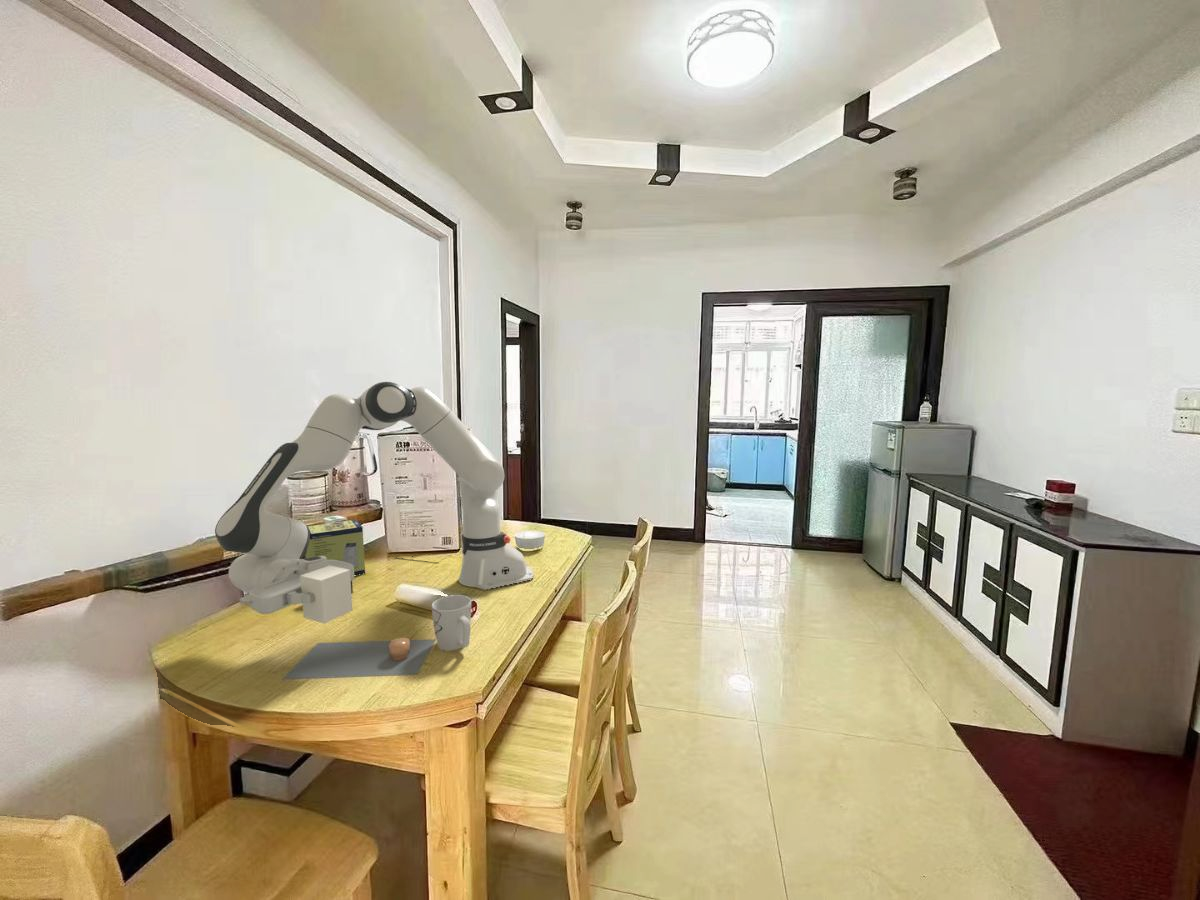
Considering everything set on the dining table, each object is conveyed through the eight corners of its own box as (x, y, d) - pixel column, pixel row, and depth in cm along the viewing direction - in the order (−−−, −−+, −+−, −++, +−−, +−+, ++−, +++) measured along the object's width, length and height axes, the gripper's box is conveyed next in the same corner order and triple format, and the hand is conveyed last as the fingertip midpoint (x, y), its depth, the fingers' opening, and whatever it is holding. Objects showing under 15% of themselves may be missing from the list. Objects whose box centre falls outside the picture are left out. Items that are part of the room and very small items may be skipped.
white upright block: (332, 605, 105) (329, 565, 104) (352, 610, 102) (349, 569, 101) (303, 617, 99) (300, 575, 98) (324, 623, 96) (321, 580, 95)
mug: (486, 650, 106) (485, 607, 105) (450, 665, 100) (449, 619, 99) (460, 632, 114) (459, 591, 113) (426, 644, 108) (425, 602, 107)
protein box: (304, 575, 150) (301, 526, 148) (359, 564, 159) (357, 519, 157) (308, 585, 142) (305, 534, 140) (366, 574, 151) (363, 526, 149)
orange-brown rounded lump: (410, 650, 105) (409, 636, 105) (409, 659, 101) (409, 645, 101) (390, 653, 104) (389, 639, 103) (389, 663, 100) (388, 648, 100)
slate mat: (436, 640, 110) (435, 639, 110) (417, 676, 96) (417, 674, 96) (318, 644, 108) (318, 642, 108) (281, 681, 94) (281, 679, 94)
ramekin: (509, 547, 178) (509, 533, 178) (534, 541, 186) (534, 528, 185) (524, 555, 170) (524, 540, 169) (551, 548, 177) (551, 535, 176)
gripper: (233, 584, 95) (277, 596, 90) (328, 553, 114) (369, 561, 108) (236, 614, 96) (279, 628, 91) (330, 578, 115) (371, 588, 109)
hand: (329, 591), depth 100 cm, fingers closed on white upright block, 6 cm apart
